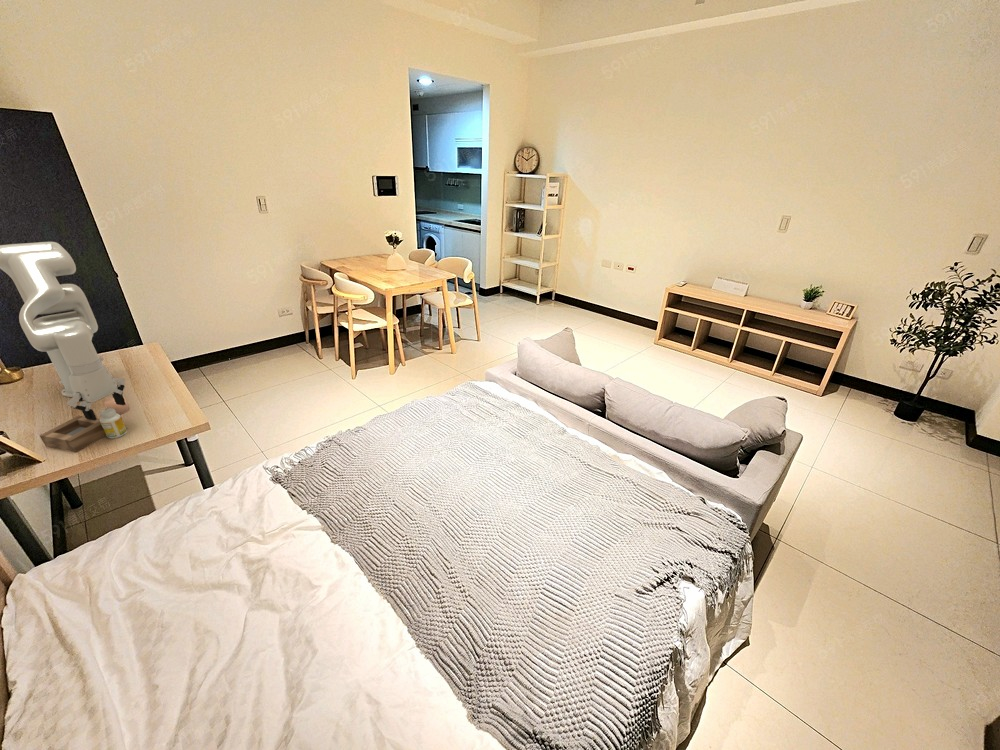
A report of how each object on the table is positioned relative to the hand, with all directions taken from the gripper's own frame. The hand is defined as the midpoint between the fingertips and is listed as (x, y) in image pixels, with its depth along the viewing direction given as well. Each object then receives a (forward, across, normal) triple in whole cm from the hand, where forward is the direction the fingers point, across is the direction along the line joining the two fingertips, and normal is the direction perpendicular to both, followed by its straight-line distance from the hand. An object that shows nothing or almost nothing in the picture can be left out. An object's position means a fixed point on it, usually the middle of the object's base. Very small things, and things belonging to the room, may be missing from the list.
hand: (107, 411), depth 139 cm
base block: (+10, +5, -10) cm, 15 cm away
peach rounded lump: (+9, -12, -14) cm, 21 cm away
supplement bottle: (+10, 0, -1) cm, 10 cm away
